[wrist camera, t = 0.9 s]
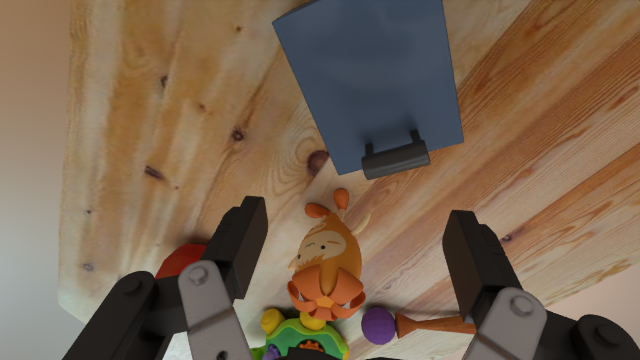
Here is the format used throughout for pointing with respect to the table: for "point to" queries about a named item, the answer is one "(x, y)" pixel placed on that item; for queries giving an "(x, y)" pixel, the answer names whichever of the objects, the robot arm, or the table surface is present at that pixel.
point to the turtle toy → (298, 336)
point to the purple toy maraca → (406, 325)
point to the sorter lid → (375, 80)
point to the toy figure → (328, 265)
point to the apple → (180, 260)
